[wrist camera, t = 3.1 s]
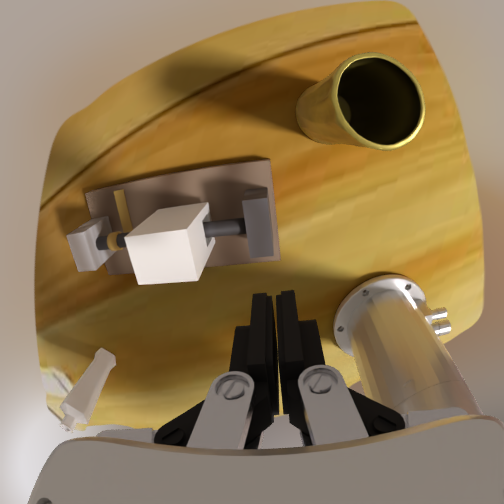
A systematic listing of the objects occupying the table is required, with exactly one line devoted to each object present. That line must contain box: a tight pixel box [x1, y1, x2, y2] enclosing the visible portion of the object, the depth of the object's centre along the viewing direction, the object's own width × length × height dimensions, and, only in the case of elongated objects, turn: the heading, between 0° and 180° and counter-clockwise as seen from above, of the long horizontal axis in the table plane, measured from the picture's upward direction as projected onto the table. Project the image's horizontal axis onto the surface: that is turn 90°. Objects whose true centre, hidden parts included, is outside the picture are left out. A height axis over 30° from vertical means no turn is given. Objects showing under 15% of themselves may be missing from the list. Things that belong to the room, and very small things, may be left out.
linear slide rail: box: [66, 159, 281, 275], centre depth 27 cm, size 20×10×6 cm, turn 98°
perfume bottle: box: [59, 348, 116, 433], centre depth 33 cm, size 5×4×15 cm
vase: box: [296, 52, 425, 151], centre depth 18 cm, size 6×6×14 cm
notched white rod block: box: [124, 202, 215, 285], centre depth 24 cm, size 5×4×8 cm
